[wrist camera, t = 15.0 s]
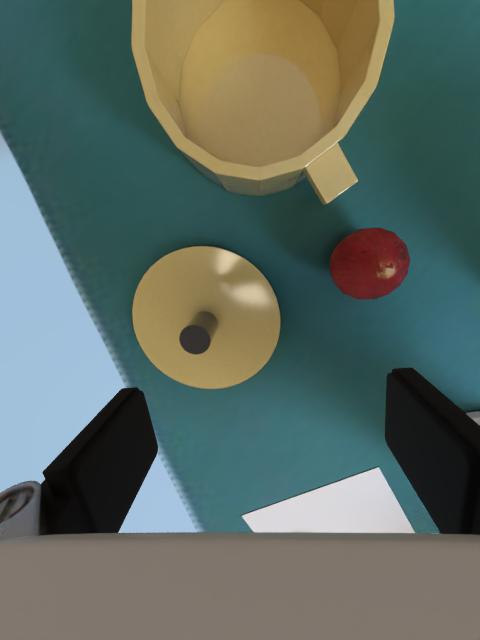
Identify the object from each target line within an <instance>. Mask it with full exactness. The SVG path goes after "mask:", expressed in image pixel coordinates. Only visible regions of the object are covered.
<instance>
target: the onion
mask: <svg viewBox="0 0 480 640" xmlns="http://www.w3.org/2000/svg"><path fill="white" fill-rule="evenodd" d="M409 262H410V257H409V253H408V249H407V245H406V244H405V243H404V242H403V241H402V240H401V239H400V238H399V237H398V236H397V235H396V234H395V233H394V232H391V231H388V230H385V229H382V228H366V229H360V230H358V231H356V232H354V233H352V234H350V235H348V236H346V237H345V238H344V239H343V240H342V241H341V242H340V243H339V244H338V245H337V246H336V248H335V250H334V252H333V254H332V256H331V258H330V273H331V276H332V278H333V281H334V283H335V284H336V285H337V287H338V288H339V289H340V290H341V291H342V292H343V293H344V294H347V295H349V296H351V297H354V298H356V299H376V298H379V297H382V296H385V295H387V294H389V293H390V292H392V291H393V290H394V289H396V288H397V287H398V286H399V285H400V284H401V282H402V281H403V280H404V278H405V277H406V275H407V273H408V267H409Z"/></svg>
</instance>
